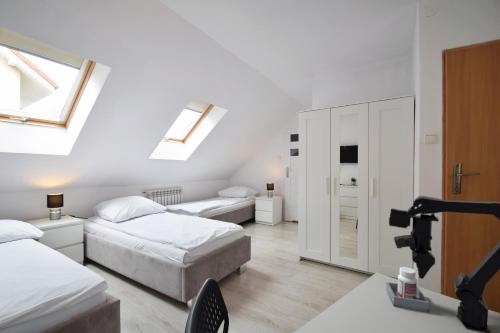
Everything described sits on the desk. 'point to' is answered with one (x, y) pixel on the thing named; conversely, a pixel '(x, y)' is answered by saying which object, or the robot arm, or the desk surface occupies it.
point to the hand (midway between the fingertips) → (419, 272)
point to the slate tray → (407, 299)
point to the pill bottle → (407, 283)
